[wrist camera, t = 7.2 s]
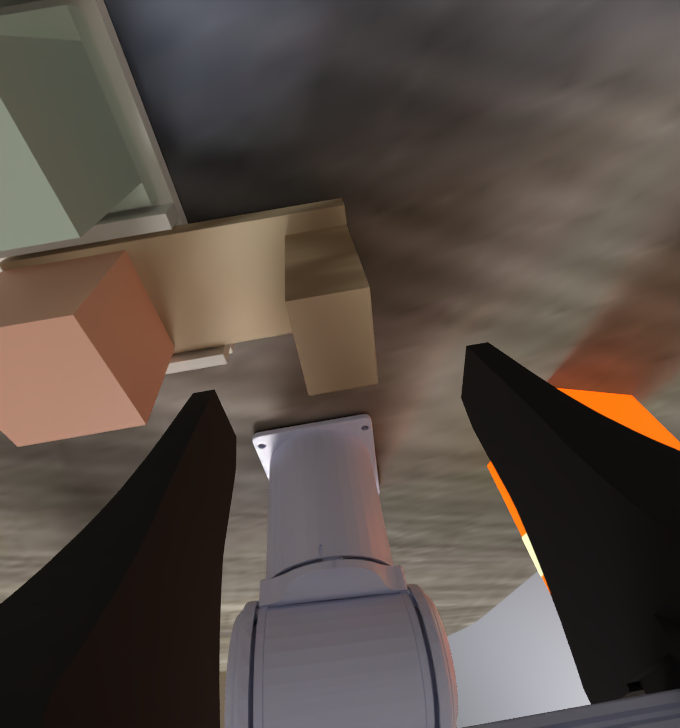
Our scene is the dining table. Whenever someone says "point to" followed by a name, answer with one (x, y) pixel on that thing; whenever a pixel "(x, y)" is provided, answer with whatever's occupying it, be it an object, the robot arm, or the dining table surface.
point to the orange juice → (612, 407)
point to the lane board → (167, 204)
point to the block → (78, 349)
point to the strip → (60, 132)
